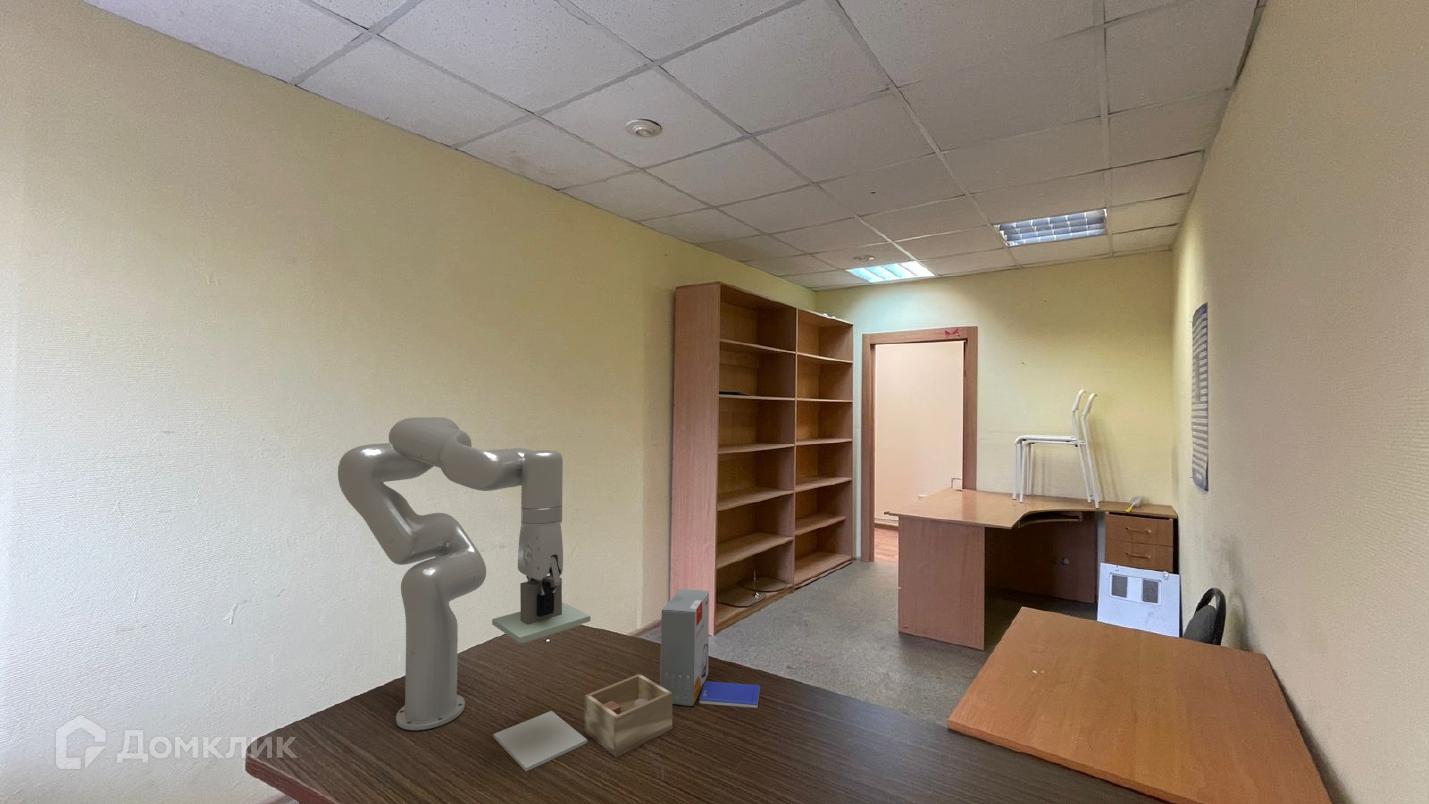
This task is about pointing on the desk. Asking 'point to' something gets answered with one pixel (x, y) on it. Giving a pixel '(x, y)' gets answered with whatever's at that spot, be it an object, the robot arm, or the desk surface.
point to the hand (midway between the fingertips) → (541, 611)
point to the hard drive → (730, 694)
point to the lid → (532, 626)
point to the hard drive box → (685, 645)
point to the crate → (628, 714)
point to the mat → (539, 740)
